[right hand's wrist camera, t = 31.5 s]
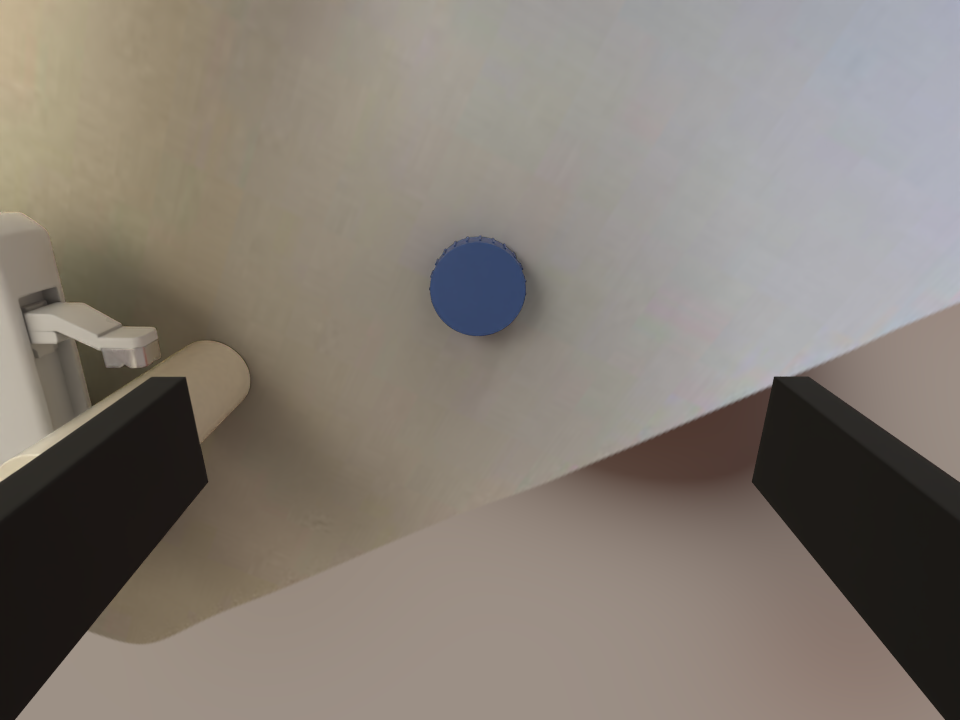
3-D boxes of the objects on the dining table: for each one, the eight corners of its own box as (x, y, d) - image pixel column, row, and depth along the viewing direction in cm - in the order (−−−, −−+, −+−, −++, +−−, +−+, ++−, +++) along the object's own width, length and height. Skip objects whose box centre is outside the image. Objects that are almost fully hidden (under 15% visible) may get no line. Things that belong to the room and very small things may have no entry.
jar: (182, 328, 32) (-56, 465, 18) (258, 355, 33) (88, 508, 18) (167, 395, 34) (-63, 570, 19) (241, 419, 34) (70, 607, 20)
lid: (447, 222, 30) (445, 226, 28) (537, 252, 31) (541, 259, 29) (420, 310, 32) (416, 320, 30) (505, 337, 32) (507, 349, 30)
